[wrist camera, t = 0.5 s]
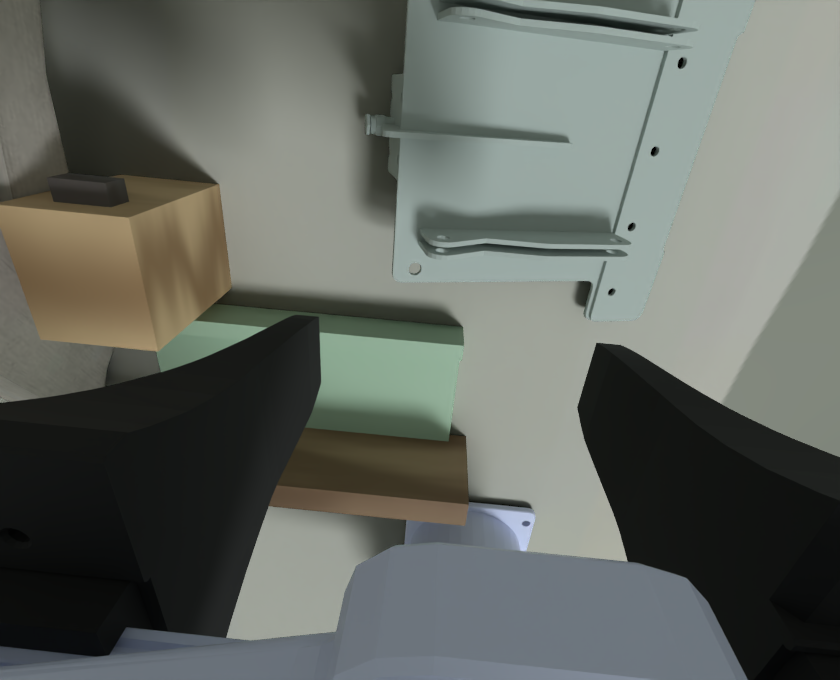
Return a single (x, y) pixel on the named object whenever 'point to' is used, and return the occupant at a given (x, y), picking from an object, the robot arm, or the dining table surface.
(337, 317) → the cleat ledge
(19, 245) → the cabinet block
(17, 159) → the white letter a
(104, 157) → the dining table surface
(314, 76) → the dining table surface
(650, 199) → the metal bracket
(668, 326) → the dining table surface
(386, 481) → the wall board
